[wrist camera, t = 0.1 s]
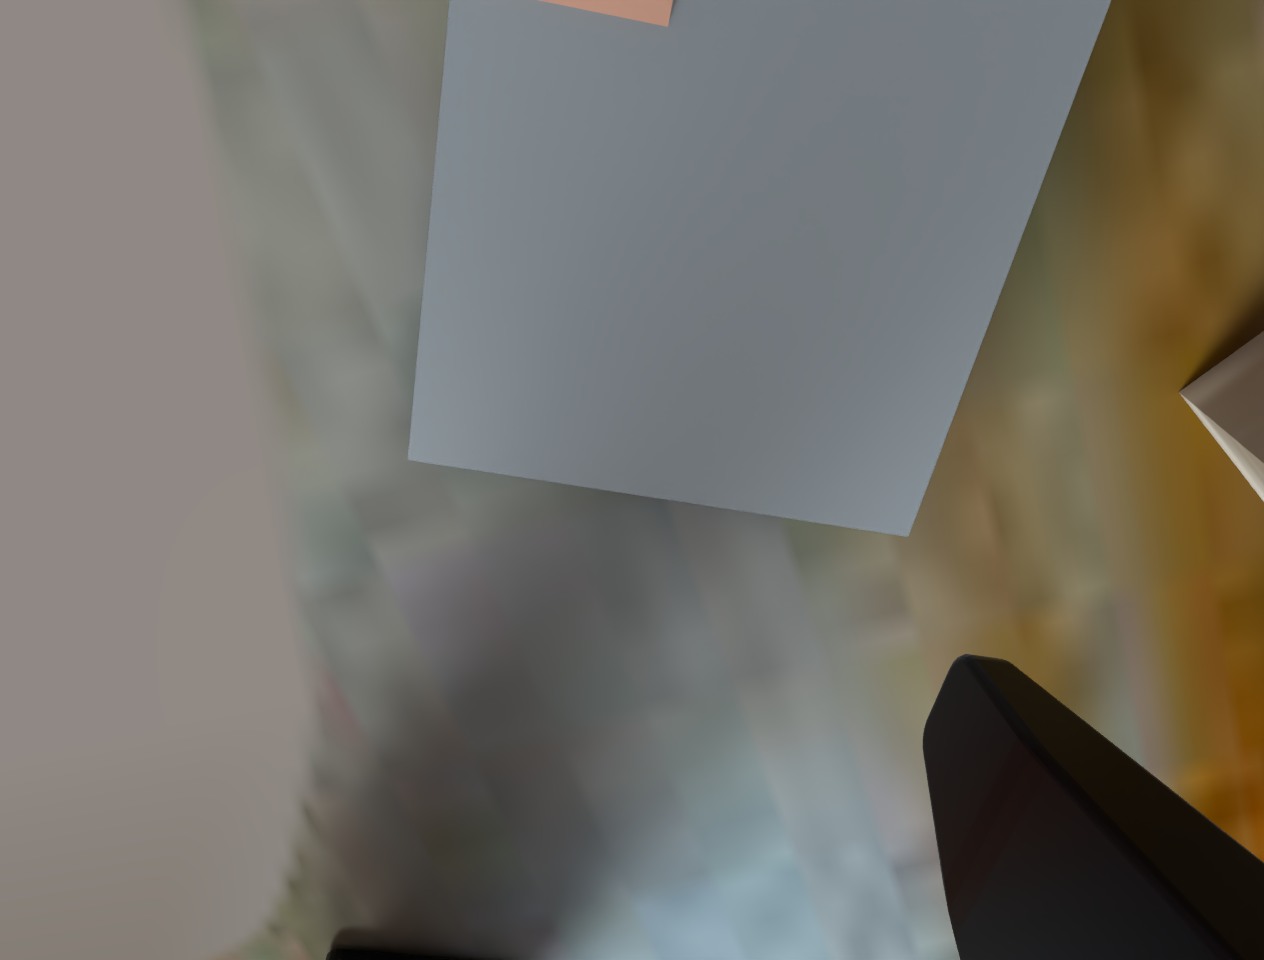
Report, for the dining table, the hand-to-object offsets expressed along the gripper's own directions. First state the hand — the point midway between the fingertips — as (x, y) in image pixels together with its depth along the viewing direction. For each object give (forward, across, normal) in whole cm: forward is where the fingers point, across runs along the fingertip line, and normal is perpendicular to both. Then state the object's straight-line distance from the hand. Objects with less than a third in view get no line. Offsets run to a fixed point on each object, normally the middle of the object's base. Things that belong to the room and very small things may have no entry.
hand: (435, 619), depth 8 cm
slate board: (+15, -4, -1) cm, 15 cm away
